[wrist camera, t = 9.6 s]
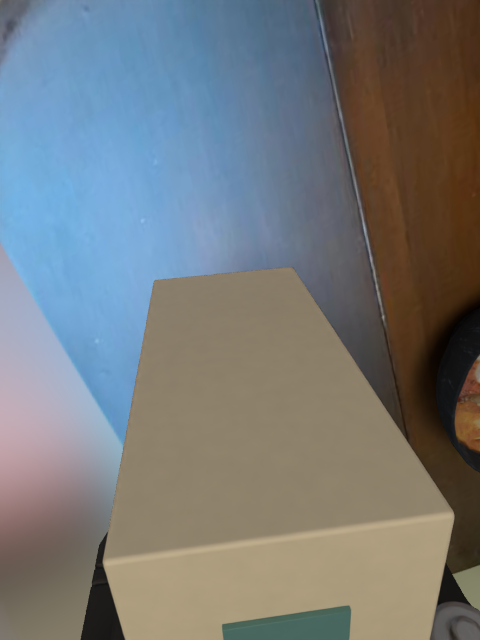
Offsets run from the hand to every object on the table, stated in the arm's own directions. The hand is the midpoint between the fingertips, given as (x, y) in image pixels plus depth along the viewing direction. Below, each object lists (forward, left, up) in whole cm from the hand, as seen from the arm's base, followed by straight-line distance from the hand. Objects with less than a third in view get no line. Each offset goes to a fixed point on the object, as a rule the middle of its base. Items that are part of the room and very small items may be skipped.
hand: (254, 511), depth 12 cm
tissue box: (0, 0, -6) cm, 6 cm away
